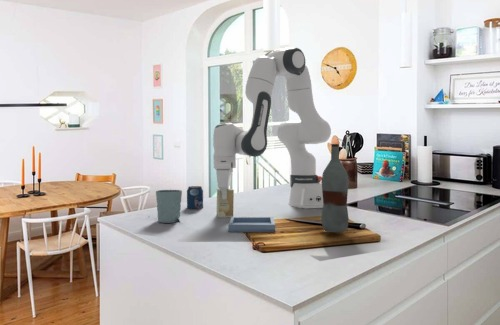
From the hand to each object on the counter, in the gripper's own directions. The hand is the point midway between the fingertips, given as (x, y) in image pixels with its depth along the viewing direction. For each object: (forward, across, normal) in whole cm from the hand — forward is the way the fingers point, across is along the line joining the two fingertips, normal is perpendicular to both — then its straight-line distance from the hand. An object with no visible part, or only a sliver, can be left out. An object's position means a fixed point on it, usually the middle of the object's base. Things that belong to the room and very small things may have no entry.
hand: (225, 198), depth 174 cm
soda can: (+9, -13, -14) cm, 22 cm away
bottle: (+9, +22, +40) cm, 47 cm away
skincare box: (+9, 0, 0) cm, 9 cm away
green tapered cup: (+9, +3, -22) cm, 24 cm away
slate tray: (+8, +17, +11) cm, 22 cm away
